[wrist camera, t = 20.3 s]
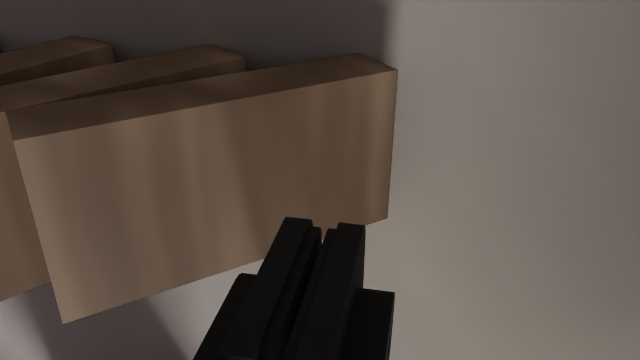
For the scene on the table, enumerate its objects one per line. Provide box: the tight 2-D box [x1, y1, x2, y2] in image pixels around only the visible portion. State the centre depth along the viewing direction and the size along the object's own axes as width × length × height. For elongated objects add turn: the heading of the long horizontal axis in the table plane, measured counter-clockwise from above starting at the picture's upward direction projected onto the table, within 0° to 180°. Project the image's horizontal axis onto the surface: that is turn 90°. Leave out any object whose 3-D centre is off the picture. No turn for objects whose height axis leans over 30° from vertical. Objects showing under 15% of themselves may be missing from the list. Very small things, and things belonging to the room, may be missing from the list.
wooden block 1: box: [0, 44, 246, 302], centre depth 16 cm, size 2×5×10 cm
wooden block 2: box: [5, 53, 398, 324], centre depth 16 cm, size 2×5×10 cm
